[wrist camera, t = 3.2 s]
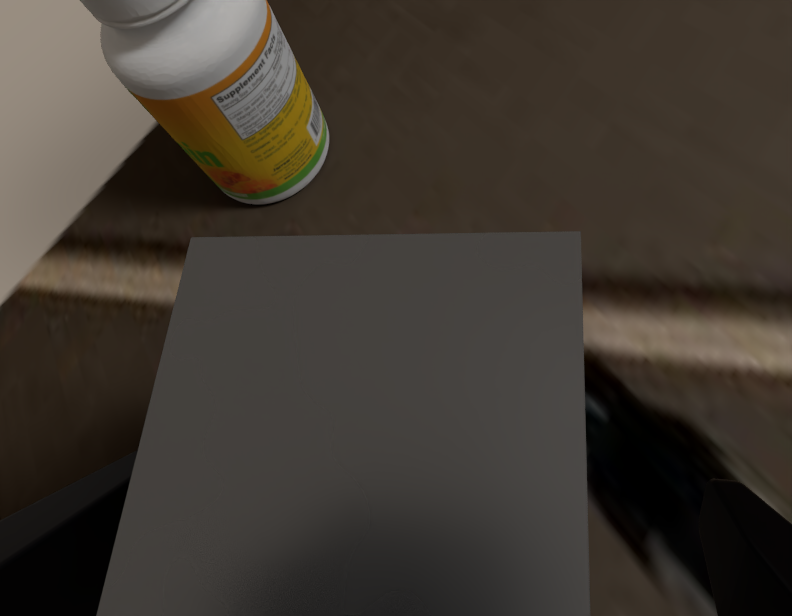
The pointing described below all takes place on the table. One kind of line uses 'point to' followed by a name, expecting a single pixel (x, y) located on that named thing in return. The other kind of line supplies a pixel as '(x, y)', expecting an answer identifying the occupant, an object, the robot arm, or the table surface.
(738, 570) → the robot arm
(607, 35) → the table surface
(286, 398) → the steel square block
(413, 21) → the table surface
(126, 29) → the supplement bottle
